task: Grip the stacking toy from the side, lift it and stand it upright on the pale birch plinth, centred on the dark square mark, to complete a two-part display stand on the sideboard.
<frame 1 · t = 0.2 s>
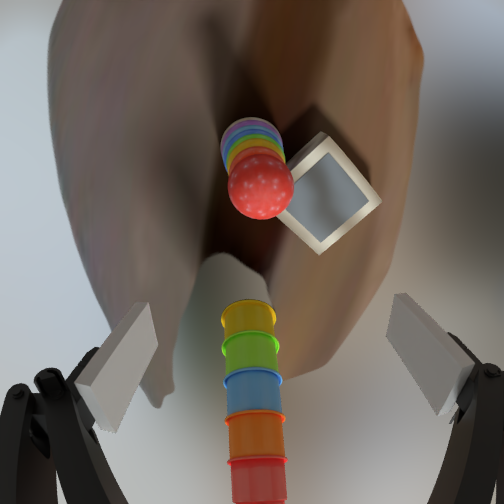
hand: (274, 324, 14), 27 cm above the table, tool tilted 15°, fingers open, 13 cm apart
stacking toy: (251, 145, 35), on the table
stacking cups: (248, 316, 52), on the table
plinth: (317, 189, 38), on the table
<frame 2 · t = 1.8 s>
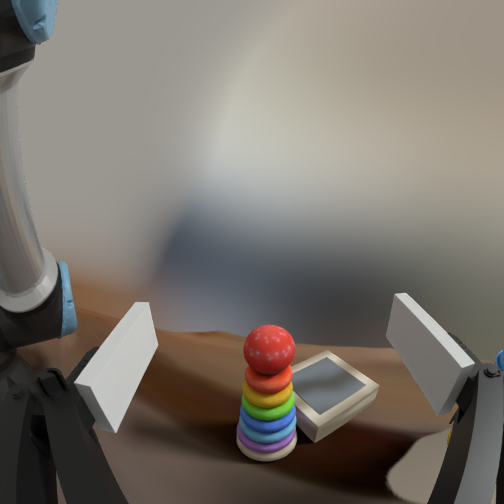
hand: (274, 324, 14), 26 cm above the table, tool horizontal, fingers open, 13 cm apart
stacking toy: (266, 441, 31), on the table
plinth: (320, 400, 37), on the table
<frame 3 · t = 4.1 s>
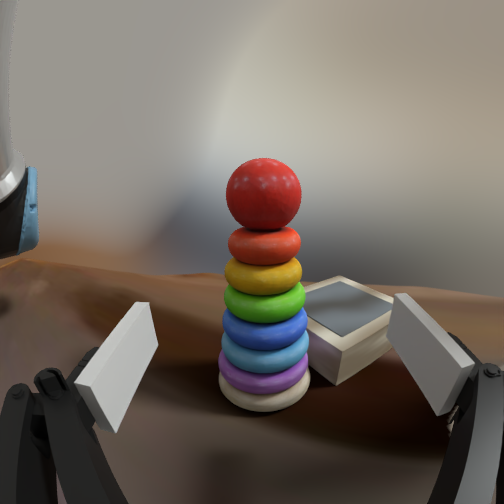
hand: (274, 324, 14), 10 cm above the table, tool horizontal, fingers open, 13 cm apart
stacking toy: (264, 385, 23), on the table
plinth: (337, 335, 30), on the table
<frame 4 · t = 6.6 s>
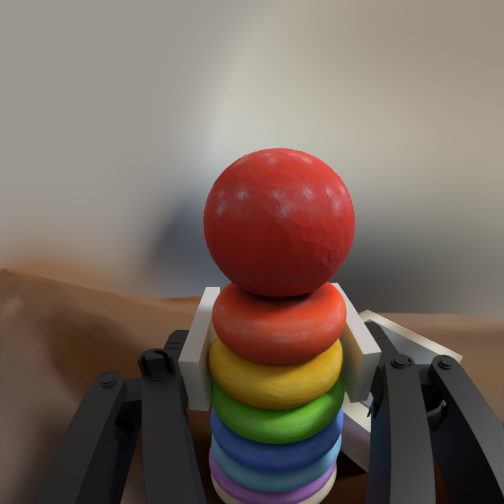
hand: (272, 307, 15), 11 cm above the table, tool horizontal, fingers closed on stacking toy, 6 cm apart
stacking toy: (273, 476, 14), on the table, touching gripper
plinth: (366, 393, 20), on the table
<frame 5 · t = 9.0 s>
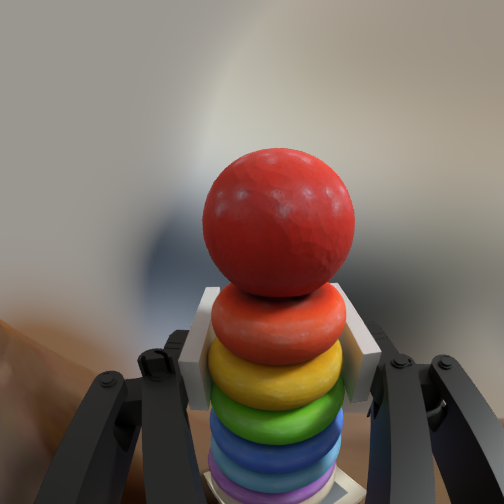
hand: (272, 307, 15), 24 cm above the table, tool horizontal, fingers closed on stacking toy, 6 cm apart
stacking toy: (273, 476, 14), point 14 cm above the table, touching gripper
plinth: (282, 501, 20), on the table
when the fingers open (16 cm above the table, at t = 11.7 s): stacking toy drops 2 cm, resting on plinth.
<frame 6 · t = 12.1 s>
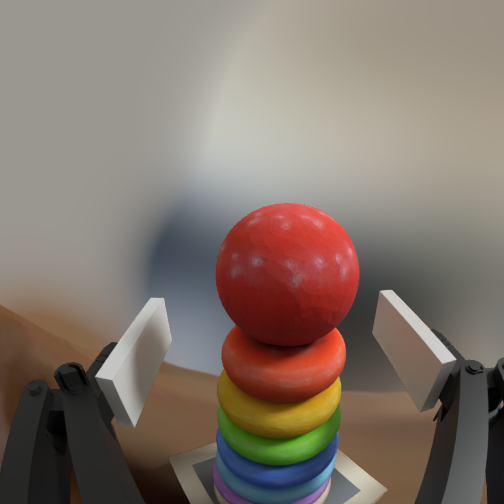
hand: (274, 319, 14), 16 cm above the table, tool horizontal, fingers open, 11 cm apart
stacking toy: (272, 486, 14), point 4 cm above the table, touching plinth
plinth: (272, 500, 15), on the table
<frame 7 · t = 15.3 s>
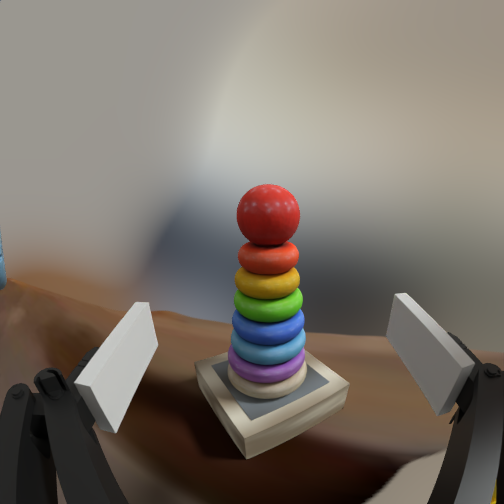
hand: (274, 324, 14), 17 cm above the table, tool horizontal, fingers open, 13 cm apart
stacking toy: (267, 377, 27), point 4 cm above the table, touching plinth
plinth: (268, 400, 28), on the table
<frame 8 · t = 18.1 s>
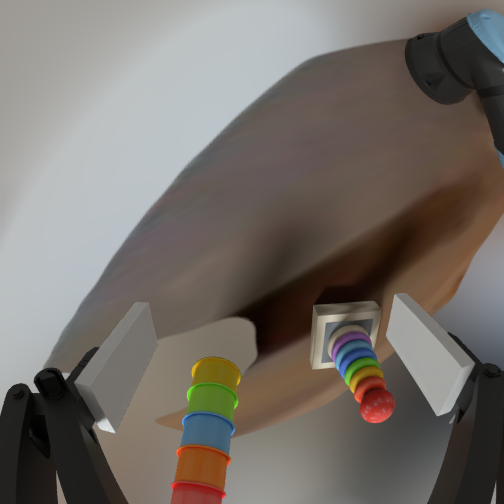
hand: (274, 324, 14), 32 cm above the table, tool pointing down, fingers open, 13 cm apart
stacking toy: (346, 340, 46), point 4 cm above the table, touching plinth
stacking cups: (216, 373, 54), on the table
plinth: (341, 330, 50), on the table
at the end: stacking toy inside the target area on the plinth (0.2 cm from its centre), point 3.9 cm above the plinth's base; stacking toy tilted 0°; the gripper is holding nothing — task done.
